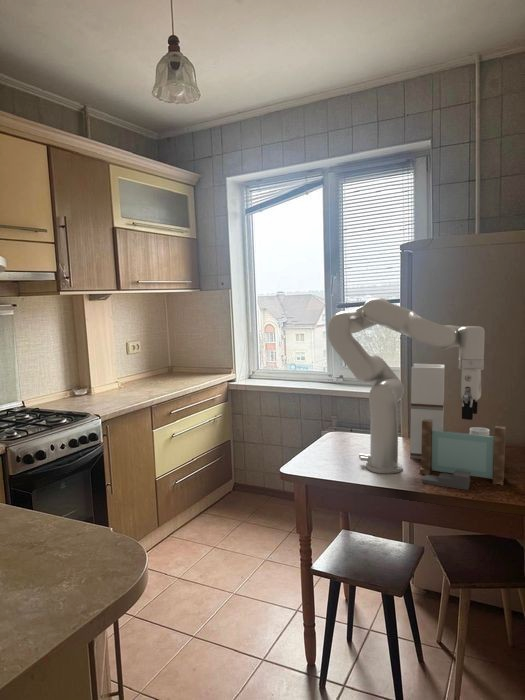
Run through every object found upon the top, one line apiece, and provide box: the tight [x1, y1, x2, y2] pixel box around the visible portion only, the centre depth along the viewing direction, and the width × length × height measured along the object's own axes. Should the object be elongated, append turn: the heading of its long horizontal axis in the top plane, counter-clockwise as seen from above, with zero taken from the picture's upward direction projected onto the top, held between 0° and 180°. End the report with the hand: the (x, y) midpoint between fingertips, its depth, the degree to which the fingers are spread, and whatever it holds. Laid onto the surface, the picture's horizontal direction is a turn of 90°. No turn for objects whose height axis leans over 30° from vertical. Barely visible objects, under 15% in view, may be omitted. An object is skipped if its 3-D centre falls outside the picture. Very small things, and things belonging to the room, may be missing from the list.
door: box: [431, 430, 495, 480], centre depth 170 cm, size 19×1×14 cm, turn 62°
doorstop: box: [421, 470, 471, 491], centre depth 163 cm, size 5×14×4 cm, turn 61°
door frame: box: [419, 419, 506, 486], centre depth 169 cm, size 26×8×18 cm, turn 62°
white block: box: [409, 363, 446, 460], centre depth 191 cm, size 11×11×35 cm
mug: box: [469, 426, 490, 436], centre depth 186 cm, size 10×7×12 cm, turn 131°
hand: (469, 416), depth 163 cm, fingers open, 9 cm apart
